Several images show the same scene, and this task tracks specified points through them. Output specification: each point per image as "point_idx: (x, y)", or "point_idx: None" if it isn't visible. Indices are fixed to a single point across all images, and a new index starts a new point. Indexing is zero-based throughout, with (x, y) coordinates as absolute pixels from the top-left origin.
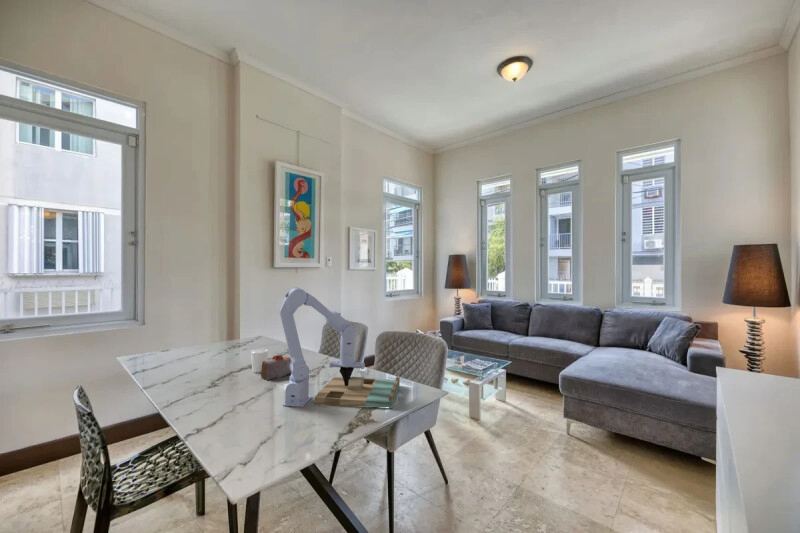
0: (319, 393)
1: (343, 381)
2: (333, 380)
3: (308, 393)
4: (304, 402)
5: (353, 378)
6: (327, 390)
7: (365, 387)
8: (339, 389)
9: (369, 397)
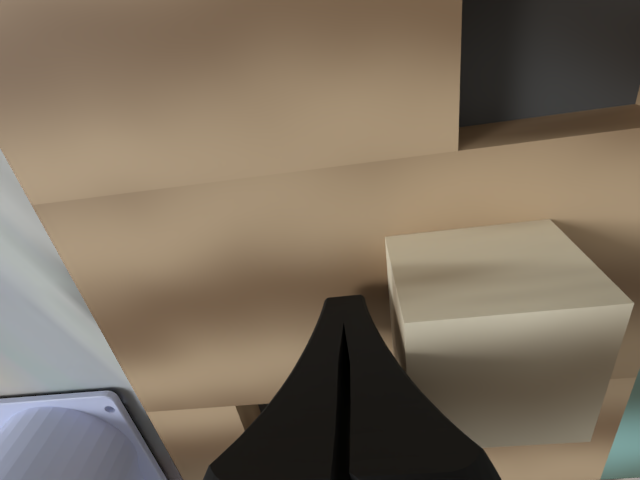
0: (178, 451)
1: (201, 129)
2: (36, 133)
3: (103, 470)
4: (145, 471)
5: (464, 402)
6: (199, 399)
7: (583, 252)
8: (296, 361)
9: (635, 436)
